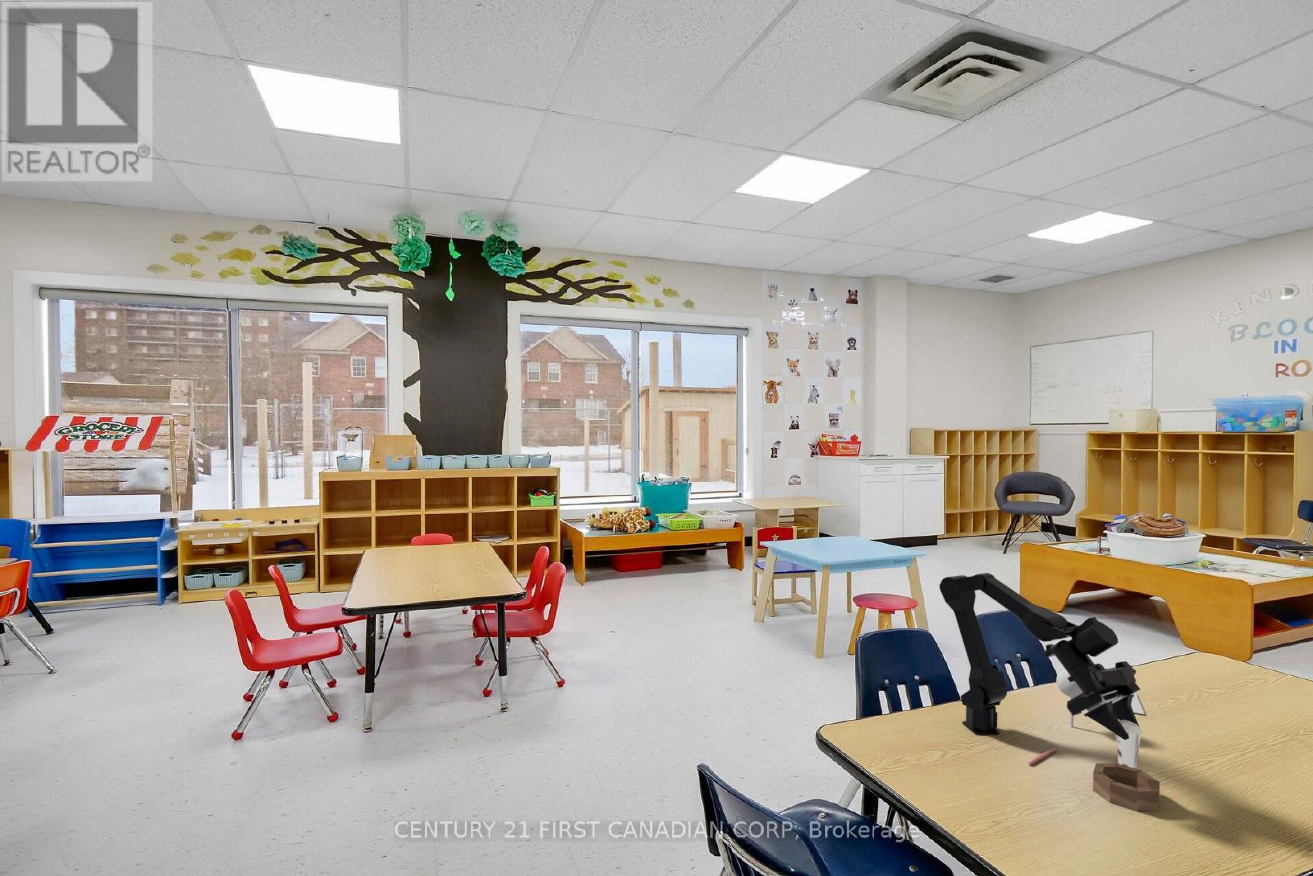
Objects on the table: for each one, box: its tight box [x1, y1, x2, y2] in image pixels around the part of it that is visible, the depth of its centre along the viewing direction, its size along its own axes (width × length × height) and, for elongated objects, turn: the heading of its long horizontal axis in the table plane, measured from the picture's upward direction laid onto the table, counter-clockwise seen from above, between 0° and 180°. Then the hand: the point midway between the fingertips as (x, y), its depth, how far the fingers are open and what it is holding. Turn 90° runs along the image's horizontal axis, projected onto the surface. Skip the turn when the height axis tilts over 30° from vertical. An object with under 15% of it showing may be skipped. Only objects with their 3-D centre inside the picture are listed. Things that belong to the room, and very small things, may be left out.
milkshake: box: [1115, 720, 1142, 769], centre depth 134 cm, size 4×5×10 cm
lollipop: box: [1056, 668, 1083, 728], centre depth 166 cm, size 7×7×15 cm
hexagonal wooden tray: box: [1092, 762, 1161, 812], centre depth 134 cm, size 11×11×4 cm
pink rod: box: [1027, 747, 1057, 766], centre depth 150 cm, size 13×1×1 cm, turn 125°
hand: (1133, 736), depth 133 cm, fingers closed on milkshake, 4 cm apart
